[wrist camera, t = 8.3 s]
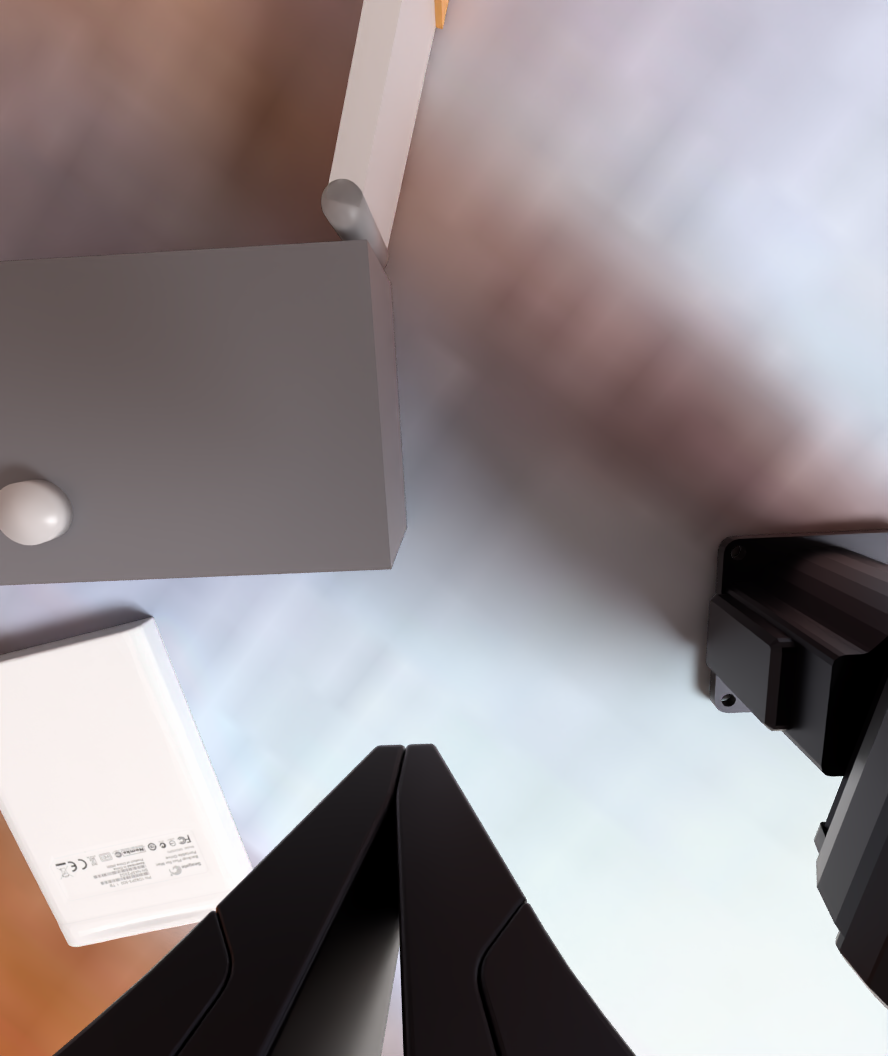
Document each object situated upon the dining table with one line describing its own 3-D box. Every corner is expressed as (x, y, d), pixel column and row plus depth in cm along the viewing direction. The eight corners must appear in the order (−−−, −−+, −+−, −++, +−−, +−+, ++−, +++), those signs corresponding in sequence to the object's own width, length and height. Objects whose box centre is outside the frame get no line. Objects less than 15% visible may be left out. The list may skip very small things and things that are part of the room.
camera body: (391, 283, 18) (362, 231, 12) (406, 527, 20) (388, 576, 14) (-24, 307, 18) (-227, 266, 13) (28, 544, 20) (-132, 597, 15)
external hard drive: (161, 610, 21) (266, 880, 24) (-35, 660, 22) (87, 917, 24) (137, 627, 20) (252, 914, 22) (-74, 680, 20) (62, 953, 23)
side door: (387, 277, 18) (327, 167, 9) (350, 267, 18) (257, 149, 9) (452, -19, 16) (450, -476, 8) (412, -31, 16) (364, -503, 8)
